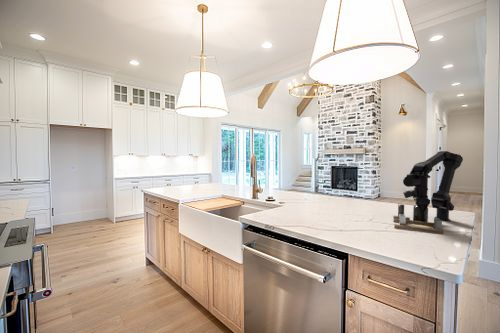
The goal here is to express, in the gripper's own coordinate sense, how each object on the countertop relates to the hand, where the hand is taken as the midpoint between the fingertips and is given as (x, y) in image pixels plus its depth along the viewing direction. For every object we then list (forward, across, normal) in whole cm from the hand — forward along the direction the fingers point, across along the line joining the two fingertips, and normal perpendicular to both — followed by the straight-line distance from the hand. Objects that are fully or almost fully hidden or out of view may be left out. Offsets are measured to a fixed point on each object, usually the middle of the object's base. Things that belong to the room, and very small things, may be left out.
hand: (420, 213), depth 134 cm
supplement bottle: (+5, 0, 0) cm, 5 cm away
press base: (+5, +9, -3) cm, 10 cm away
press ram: (+5, +7, -9) cm, 12 cm away
